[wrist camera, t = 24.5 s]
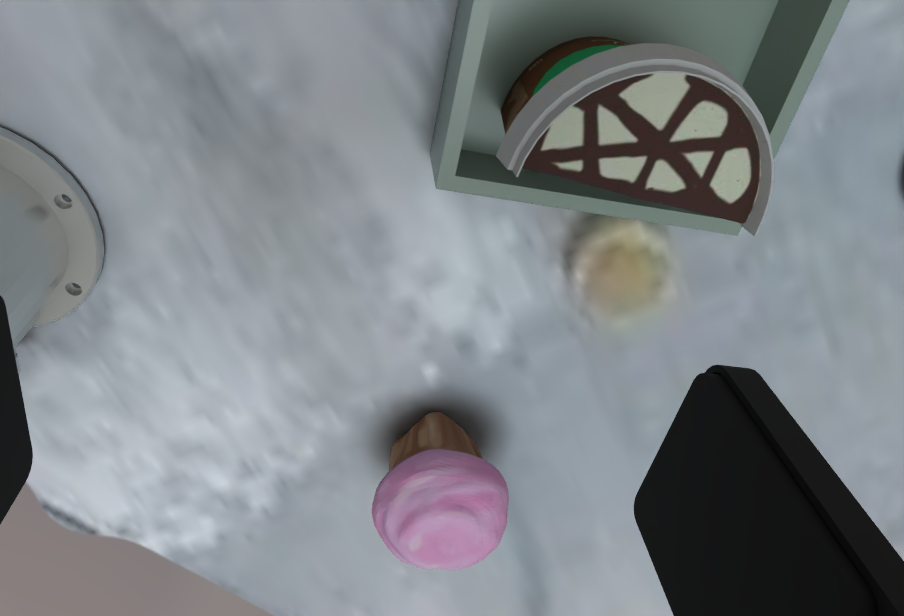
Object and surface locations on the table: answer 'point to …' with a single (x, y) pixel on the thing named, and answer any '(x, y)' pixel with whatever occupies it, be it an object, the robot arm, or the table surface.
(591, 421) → the table surface
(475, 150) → the tote
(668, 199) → the food container
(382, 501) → the cupcake
